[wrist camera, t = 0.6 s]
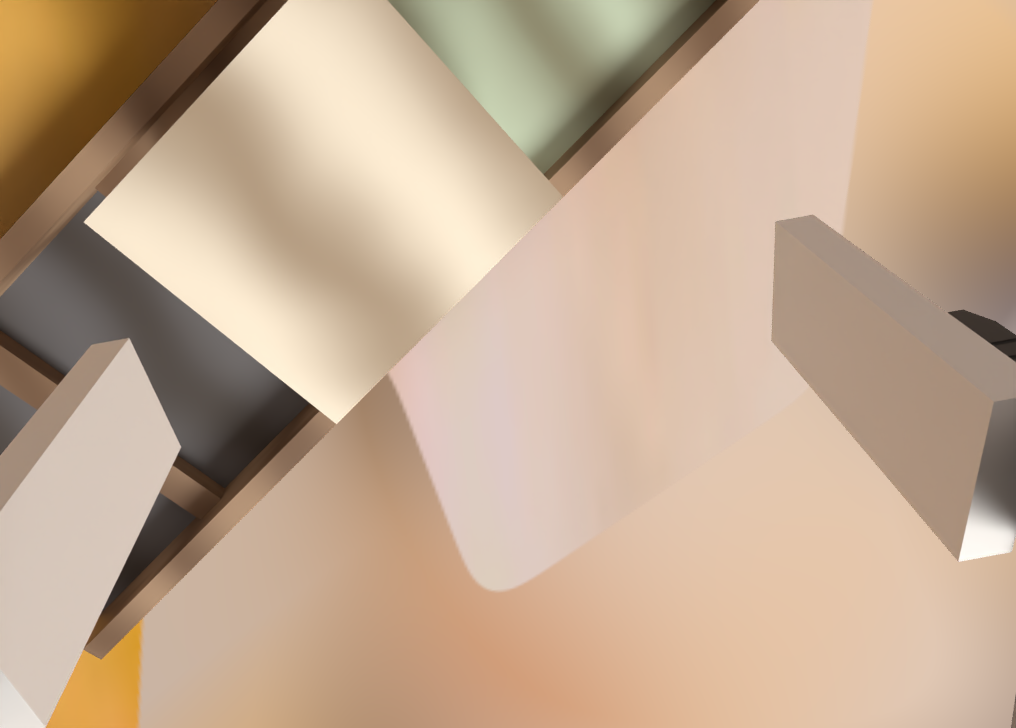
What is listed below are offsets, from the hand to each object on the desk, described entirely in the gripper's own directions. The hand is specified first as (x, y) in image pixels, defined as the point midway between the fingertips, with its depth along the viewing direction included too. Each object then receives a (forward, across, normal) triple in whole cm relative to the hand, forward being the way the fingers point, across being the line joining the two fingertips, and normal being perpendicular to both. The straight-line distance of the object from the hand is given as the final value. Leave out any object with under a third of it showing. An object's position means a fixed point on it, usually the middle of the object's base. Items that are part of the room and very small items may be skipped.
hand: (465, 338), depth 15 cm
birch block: (+19, -5, -1) cm, 20 cm away
